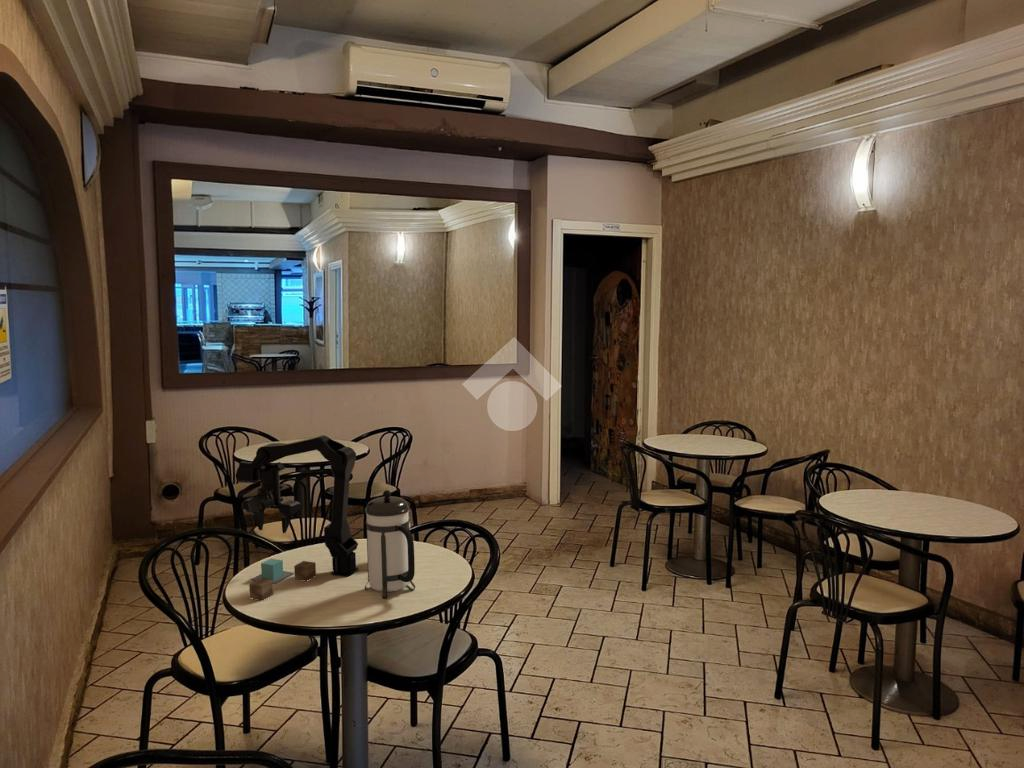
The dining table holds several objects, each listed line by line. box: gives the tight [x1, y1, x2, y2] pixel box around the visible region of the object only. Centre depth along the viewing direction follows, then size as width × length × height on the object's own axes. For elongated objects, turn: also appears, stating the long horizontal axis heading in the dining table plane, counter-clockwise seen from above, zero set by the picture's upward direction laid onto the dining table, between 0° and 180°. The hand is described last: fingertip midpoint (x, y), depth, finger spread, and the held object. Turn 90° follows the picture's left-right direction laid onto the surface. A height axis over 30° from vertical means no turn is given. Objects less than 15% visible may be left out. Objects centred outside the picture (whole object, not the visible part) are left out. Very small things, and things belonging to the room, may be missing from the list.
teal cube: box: [260, 558, 284, 579], centre depth 226 cm, size 4×4×4 cm
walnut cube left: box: [248, 579, 274, 601], centre depth 211 cm, size 4×4×4 cm
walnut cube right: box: [293, 560, 317, 582], centre depth 225 cm, size 4×4×4 cm
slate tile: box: [250, 570, 295, 585], centre depth 226 cm, size 9×9×1 cm
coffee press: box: [364, 489, 416, 600], centre depth 213 cm, size 17×16×30 cm
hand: (272, 531), depth 233 cm, fingers open, 9 cm apart
